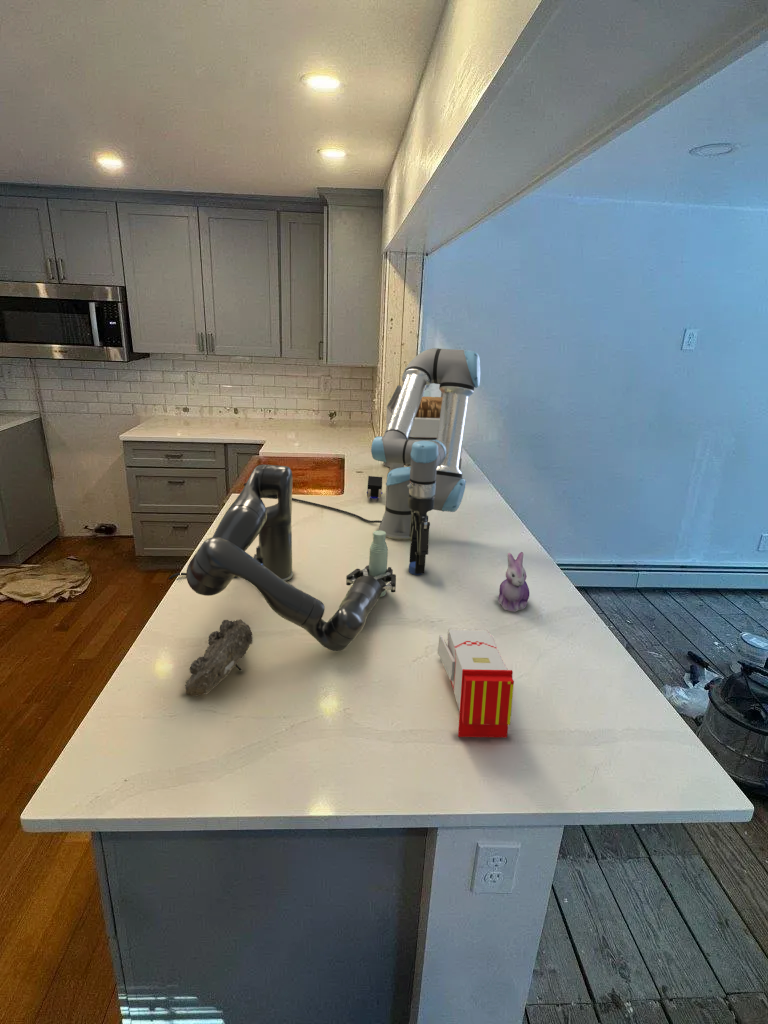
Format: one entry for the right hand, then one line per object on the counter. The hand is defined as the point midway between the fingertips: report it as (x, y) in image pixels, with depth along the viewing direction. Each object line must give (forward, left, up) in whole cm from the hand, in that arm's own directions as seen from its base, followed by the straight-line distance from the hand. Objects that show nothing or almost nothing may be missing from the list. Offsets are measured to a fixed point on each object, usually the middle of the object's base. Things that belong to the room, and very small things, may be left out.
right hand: (416, 567), depth 171 cm
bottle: (+3, -18, -1) cm, 19 cm away
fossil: (+10, -67, -1) cm, 68 cm away
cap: (0, 0, +1) cm, 1 cm away
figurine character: (-62, +35, -1) cm, 71 cm away
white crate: (-78, +77, -1) cm, 110 cm away
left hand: (+2, -16, +5) cm, 17 cm away
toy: (+48, -31, -1) cm, 57 cm away
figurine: (+30, +8, -1) cm, 31 cm away
